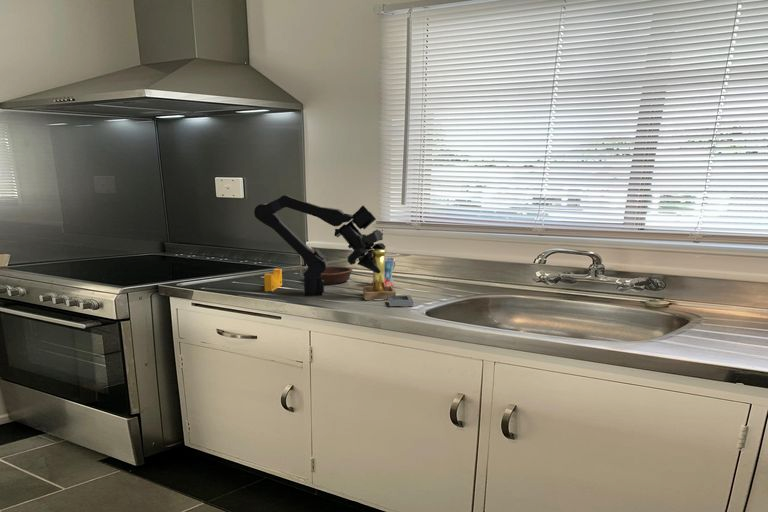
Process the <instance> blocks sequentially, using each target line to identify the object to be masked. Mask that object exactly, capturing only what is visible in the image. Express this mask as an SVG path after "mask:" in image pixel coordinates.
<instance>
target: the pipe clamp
mask: <svg viewBox="0 0 768 512" xmlns="http://www.w3.org/2000/svg"><path fill="white" fill-rule="evenodd" d="M282 270H283V269H282V268H275V269H273V271H272V272H273V273H264V275H263V277H264V279H263V280H264V292H268V291H272V292H274V291H275V290H277V289H278V288H280V287H282V285H283V273H282Z"/></svg>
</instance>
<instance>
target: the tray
mask: <svg viewBox="0 0 768 512" xmlns="http://www.w3.org/2000/svg"><path fill="white" fill-rule="evenodd" d="M362 295H363V298H364V299H365V300H374V299H387V296H397V293H396V289H395V288H394V285H393V286H384V292H373V285H364V286H362ZM364 299H363V300H364ZM365 300H364V301H365Z"/></svg>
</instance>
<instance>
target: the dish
mask: <svg viewBox="0 0 768 512" xmlns="http://www.w3.org/2000/svg"><path fill="white" fill-rule="evenodd" d="M352 272H353V269H352V268H350V267H345V266H344V267H343V266H326V269H325V271H324V272H323V273H321V275H320V276H322V280H324V285H337V284H338V283H339V284H342V283H346V282H347V281H349V279H350V277H351V274H352ZM339 284H338V285H339Z"/></svg>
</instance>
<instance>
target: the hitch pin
mask: <svg viewBox="0 0 768 512" xmlns="http://www.w3.org/2000/svg"><path fill="white" fill-rule="evenodd" d="M371 252H372V254H373V260H374V262H375V263H376V265H377V266H378V268H379V270H380V273H376V272H374V271H372V282H373V285H372V286H373V292H384V281H385V257H386V256H385V254H387V249H386V248H385V249H373V250H371Z"/></svg>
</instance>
